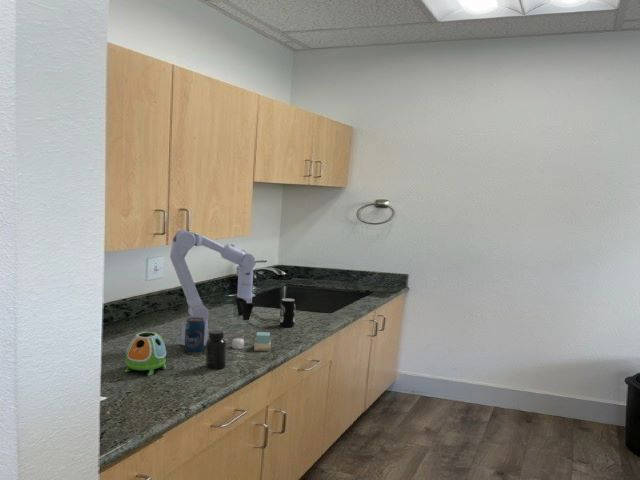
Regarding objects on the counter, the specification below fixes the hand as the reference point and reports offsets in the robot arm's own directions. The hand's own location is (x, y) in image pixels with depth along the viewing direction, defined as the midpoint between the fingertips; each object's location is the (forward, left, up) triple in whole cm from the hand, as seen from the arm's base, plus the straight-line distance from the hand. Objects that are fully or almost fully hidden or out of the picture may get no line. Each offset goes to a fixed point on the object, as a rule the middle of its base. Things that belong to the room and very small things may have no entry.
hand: (243, 317), depth 233 cm
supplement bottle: (-29, -18, -10) cm, 35 cm away
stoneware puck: (-7, -5, -10) cm, 13 cm away
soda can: (-23, +1, -10) cm, 25 cm away
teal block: (-1, -12, -7) cm, 14 cm away
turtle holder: (-47, -5, -10) cm, 48 cm away
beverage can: (+33, +7, -10) cm, 35 cm away
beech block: (-1, -12, -10) cm, 16 cm away
